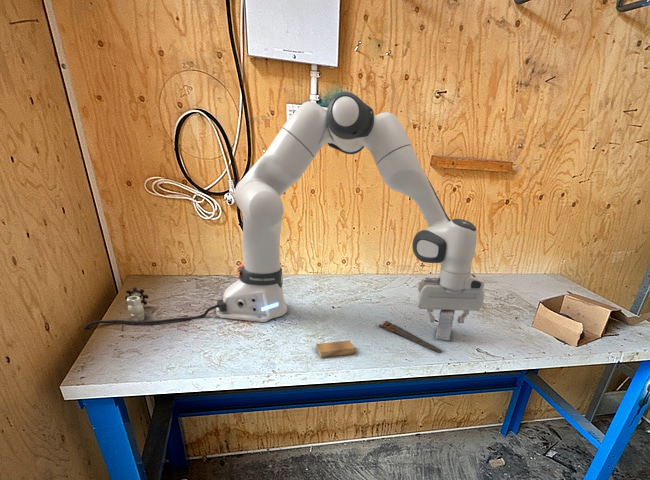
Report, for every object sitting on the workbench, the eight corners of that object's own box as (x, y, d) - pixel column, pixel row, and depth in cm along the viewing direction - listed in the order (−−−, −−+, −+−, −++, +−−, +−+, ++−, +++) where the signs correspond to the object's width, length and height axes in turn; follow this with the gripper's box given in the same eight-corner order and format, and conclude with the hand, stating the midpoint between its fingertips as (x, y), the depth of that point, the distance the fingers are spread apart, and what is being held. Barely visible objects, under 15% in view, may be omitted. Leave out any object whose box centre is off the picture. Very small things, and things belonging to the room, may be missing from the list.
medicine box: (449, 341, 135) (454, 315, 130) (435, 339, 135) (439, 313, 130) (450, 331, 141) (455, 306, 136) (437, 328, 142) (441, 303, 137)
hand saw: (446, 348, 131) (447, 346, 130) (438, 353, 128) (438, 351, 127) (386, 321, 143) (386, 320, 143) (377, 325, 140) (377, 323, 140)
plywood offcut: (321, 357, 120) (321, 352, 119) (316, 349, 124) (316, 343, 123) (354, 353, 123) (355, 348, 122) (349, 345, 127) (349, 340, 126)
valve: (150, 320, 131) (150, 305, 140) (145, 299, 127) (146, 285, 136) (125, 322, 128) (127, 307, 137) (120, 301, 125) (122, 287, 134)
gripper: (421, 281, 124) (415, 325, 132) (489, 283, 127) (479, 327, 134) (417, 274, 129) (411, 317, 137) (482, 276, 132) (473, 318, 140)
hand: (445, 322), depth 136 cm, fingers open, 8 cm apart
